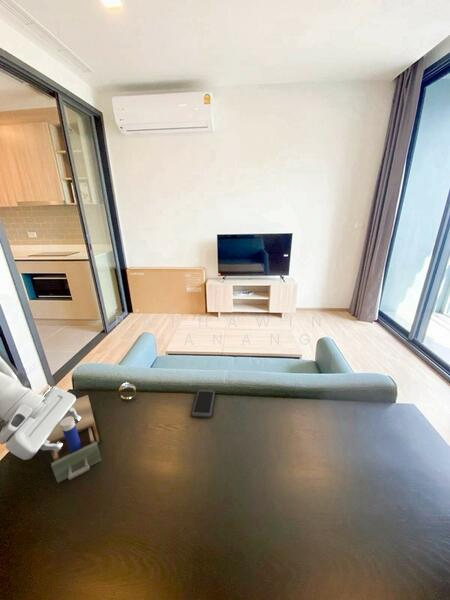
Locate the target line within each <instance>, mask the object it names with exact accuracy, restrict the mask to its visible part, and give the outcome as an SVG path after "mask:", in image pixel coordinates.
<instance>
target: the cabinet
mask: <svg viewBox="0 0 450 600" xmlns="http://www.w3.org/2000/svg"><path fill="white" fill-rule="evenodd" d="M71 407H73V408H74V409H75V411H76V413H77V415H79V416H80V417H81V419H80V421H79V422H78V423H77V424H75V426H76V429H77V432H79V431H81V430H83V429H86V428H88V427H90V426H91V428H92V432H93V436H94V441H95V442H97V444H99V443H100V438H99V433H98V430H97V425H96V421H95V417H94V412H93V409H92V405H91V402H90V398H89V394H86V395H84V396H81V397H78V398H76V401H75V402H74V404H73V405H72V406H71ZM66 417H71V416H70V414H69V415H66V414H65V416H64V417H63V418H62V420H63V419H64V418H66ZM62 420H61V421H62ZM61 421H60V422H61ZM60 422H59V423H58V425H57V426H56V427H55V429H54V430H53V431H52V433H51V434H50V435H49V437H48V438H47V439H46V440H48V441H50V442H49V444H54V442H56V441H58V440H61V439H63V438H65V436H64V433H63V430H62V429H61V426H60ZM49 452H50V454H51V457H52V459H53V462H54V461H55V459H54V450H52V449H51V450H49Z"/></svg>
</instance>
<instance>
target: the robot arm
mask: <svg viewBox="0 0 450 600" xmlns="http://www.w3.org/2000/svg"><path fill="white" fill-rule="evenodd" d="M76 399H77V397H76V395H75V394H73V393H71V392H69V391H67V390H64V389H62V388H60V387H58V386H50V387H47V388H46V389H45V390H44V391H43V392H42V393H39V392H37V391H35V390H34V389H32V384H31V382H30V380H29V379H28V377H26V376H25V375H24V374H22V373H21V372H20V371H18V370H17V368H16V367H15V366H14V364H13V363H11V361H10V360H9V359H8V358H7V356H5V354H4V353H3V352H2V351H1V350H0V422H1V421H2V420H3V421H4V422H5V423H4V425H3V426H2V428H1V430H0V445H4V444H5V448H6V450H7V451H8V452H9V453H11V454H12V455H14V456H16V457H17V458H19V459H21V460H24V461H27V460H30V459H32V458H33V457H34V456H35V455H37V453H38V451H39V450H41V451H50V450H51V449H52V450H54V451H56V452H58V451H59V450H60V449H61V448H62V446H63V444H62V443H60V442H59V441H58V442H57V443H56V444H49V442H50V441H48V440H47V438H48V437H49V435H50V434H51V433H52V431H53V430H54V429H55V427H56V426H57V425H58V423H59V422H60V421H61V420H62V418H63V417H64V416H65V414H66V415H69V414H70V416H71V417H73V418H74V421H75V424H77V423H78V422H79V421H80V419H81V417H80V416H79V415H77V413H76V411H75V409H74V408H73V407H71V406H72V405H73V404H74V402H75V401H76Z"/></svg>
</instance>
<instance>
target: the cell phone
mask: <svg viewBox="0 0 450 600" xmlns="http://www.w3.org/2000/svg"><path fill="white" fill-rule="evenodd" d="M215 394H216V391H215V390H213V389H198V390H197V392H196V396H195V400H194V403H193V407H192V409H191V417H194V418H210V417H211V416H212V412H213V406H214V400H215Z"/></svg>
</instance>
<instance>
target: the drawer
mask: <svg viewBox="0 0 450 600" xmlns="http://www.w3.org/2000/svg"><path fill="white" fill-rule="evenodd" d="M78 435H79V439H80V442H81V445H82V449H80V450H78V451H76V452H73V453H71V454H70V451H69V448H68V445H67V442H66V439H65V438H63V439H61V440H58V441H59V442H60V443H62V444H63V446H62V448H61V449H60V450H59V451H58V452H56V451H54V459H55V461H54V459H53V461H52V462H51V463H50V464H51V465H50V466H51V469H52V472H53V474H54V477H55V480H56V482H57V484H59V483H60V482H63V481H65V480H67V479H68V481H71V480H73V479H75V478H77V477H78V476H81V475H82V474H84V473H86V472H88V471H90V467H92V466H93V465H95V464H97V463H99V462H101V461H102V456H101V453H100V449H99V445H98V443H97V442H95V441H94V436H93V432H92V428H91V426H90V427H88V428H86V429H83V430H81V431H79V432H78ZM58 441H56V442H54V444H56V443H57V442H58Z"/></svg>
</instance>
